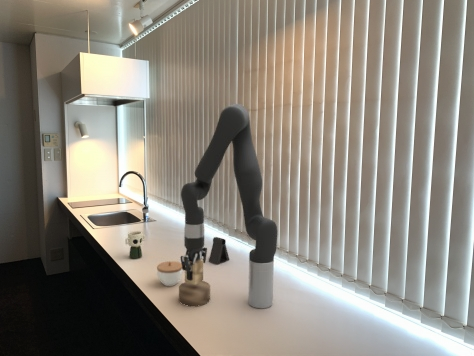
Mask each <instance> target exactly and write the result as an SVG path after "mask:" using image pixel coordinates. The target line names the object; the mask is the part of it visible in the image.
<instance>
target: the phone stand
mask: <svg viewBox="0 0 474 356" xmlns="http://www.w3.org/2000/svg"><path fill="white" fill-rule="evenodd" d="M210 250H211V251H210V254H209V257H208V263H211V264H214V265H217V266H218V265H220V264H223V263H226V262H229V261H230V257H229V252H228V249H227V244H226V239H225V238H221V237H218V236H215V237H214V236H213V238H212V246H211V249H210Z"/></svg>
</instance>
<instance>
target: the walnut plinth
mask: <svg viewBox="0 0 474 356" xmlns="http://www.w3.org/2000/svg"><path fill="white" fill-rule="evenodd" d="M209 300H210V301H211V284H210V283H209V282H208V281H205V280H202V281H201V282H199V283H197V284H196V285H195V284H191V283H188V282H185V281H184V282H182V283H181V284H180V285H179V286H178V301H180V302H181V303H182V304H181V303H180V302H179V303H180V304H181V305H183V304H185V305H188V306H187V307H191V306H195V307H199V306H198V305H201V306H204V305H206V304H208V303H209V302H210V301H209ZM207 302H208V303H207ZM205 303H206V304H205ZM203 304H204V305H203ZM185 305H184V306H185Z"/></svg>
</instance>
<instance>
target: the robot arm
mask: <svg viewBox="0 0 474 356" xmlns="http://www.w3.org/2000/svg"><path fill="white" fill-rule="evenodd" d="M216 124H217V125H216V127H215V130H214V133H213V135H212V138H211V140H210V142H209V145H208V146H207V148H206V149H205V151H204V153H203V155H202V156H201V158H200V160H199V163H198V164H197V166H196V168H195V171H194V176H195V178H196V180H195V181H193V182H187V183H185V184H184V185H183V186H182V187H181V190H180V197H181V198H180V199H181V202H182V207H183V210H184V217H185V218H184V232H183V233H184V237H183V240H184V242H183V243H184V244H183V245H184V248H185V250H186V252H185V254H184V255H180V257H179V258H180V263H181V264H182V271H184V272H185V271H187V280H190V281H191V280H193V271H192V270H193V265H194V263H195V261H196V260H203V264H205V263H206V260H207V254H208V248H207V247H205V221H204V220H205V213H204V209H203V207H201V206H199V205H198V201H201V200H203V199H205V198H206V197H207V196H208V194H209V191H210V189H211V186H212V182H213V181H212V180H213V179H214V178H215V175H216V173H217V171H218V170H219V168H220V166H221V163H222V162H223V158H224V156H225V154H226V153H227V150H228V147H229V146H230V144H232V156H233V157H232V162H233V166H232V167H233V171H234V178H235V182H236V186H237V188H238V194H239V198H240V202H241V205H242V210H243V212H242V213H243V218H244V227H245V232H246V235H247V236H248V237H249V238H250V239H252V240H253V241H255V248H253V249H251V250H250V251H249V253H248V298H247V299H248V301H247V302H248V305H249V306H251V307H252V308H256V309H267V308H270V307H271V306H272V305H274V303H273V301H274V269H275V268H274V265H275V263H274V262H275V260H274V259H275V258H274V257H275V255H276V252H277V244H278V226H277V224H276V222H275V221H274V220H272V219H270V218H267V217H266V216H265V217H264V214H263V211H262V208H261V201H260V200H261V194H262V191H263V190H262V189H263V178H262V172H261V168H260V165H259V161H258V156H257V152H256V150H255V146H254V143H253V138H252V128H251V121H250V114H249V111H248V110H247V108H246V107H245V106H244V105H242V104H240V103H233V104H230V105H228V106H226V107H224V109H222V110H221V112H220V115H219V118H218V121H217V123H216ZM189 261H192V263H191V262H189ZM189 264H190V265H191V266H190V268H189ZM185 266H186V267H185Z"/></svg>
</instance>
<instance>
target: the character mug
mask: <svg viewBox="0 0 474 356" xmlns="http://www.w3.org/2000/svg"><path fill="white" fill-rule="evenodd" d="M145 240H146V235H145V234H143V232H142V231H140V230H134V231H129V232H128V233H127V237H125V245H128V246H129V247H130V248H129V258H131V259H139V258H142V257H143V252H142V247H141V246H142V245H143V241H145Z"/></svg>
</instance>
